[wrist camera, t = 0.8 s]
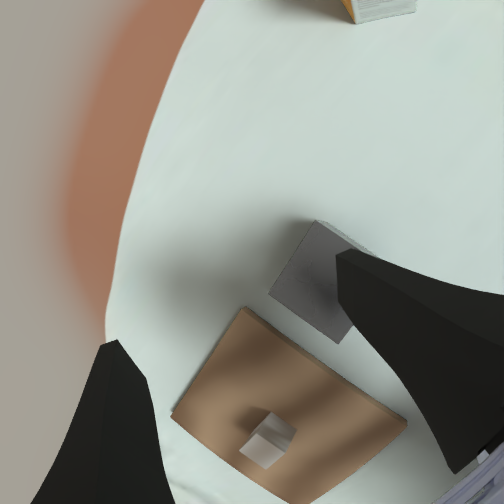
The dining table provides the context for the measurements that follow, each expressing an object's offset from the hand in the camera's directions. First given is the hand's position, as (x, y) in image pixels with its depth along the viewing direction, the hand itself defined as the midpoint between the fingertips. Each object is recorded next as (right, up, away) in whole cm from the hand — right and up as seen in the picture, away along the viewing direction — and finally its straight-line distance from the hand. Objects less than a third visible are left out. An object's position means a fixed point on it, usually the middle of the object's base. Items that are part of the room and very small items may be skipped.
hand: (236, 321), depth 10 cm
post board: (+3, -13, +16) cm, 21 cm away
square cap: (+7, +1, +13) cm, 15 cm away
